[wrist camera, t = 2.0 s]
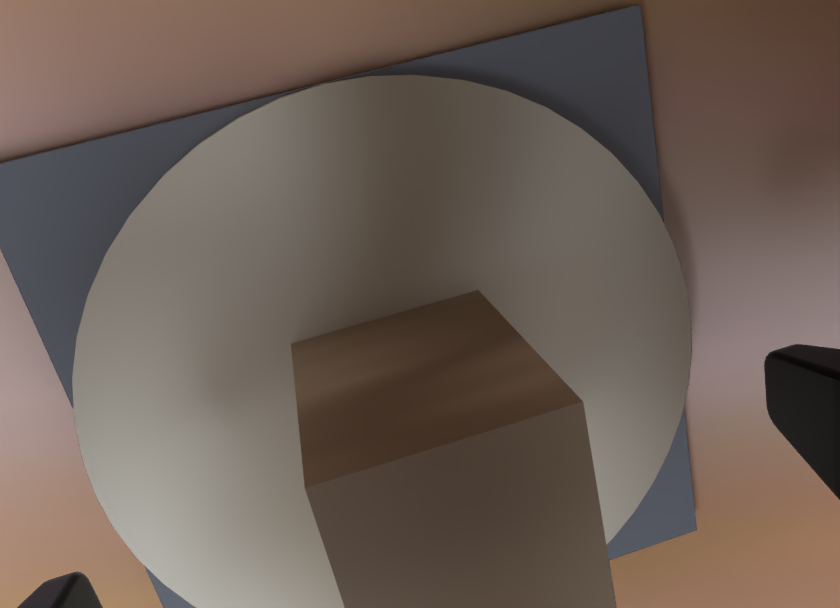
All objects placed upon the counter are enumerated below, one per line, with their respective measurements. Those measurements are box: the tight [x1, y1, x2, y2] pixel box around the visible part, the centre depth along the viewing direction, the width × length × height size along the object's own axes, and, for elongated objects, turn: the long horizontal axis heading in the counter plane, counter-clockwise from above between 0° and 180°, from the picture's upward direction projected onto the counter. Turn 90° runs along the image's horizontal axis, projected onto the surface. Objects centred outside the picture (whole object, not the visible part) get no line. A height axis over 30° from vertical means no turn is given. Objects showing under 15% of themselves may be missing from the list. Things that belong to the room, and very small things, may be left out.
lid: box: [72, 75, 692, 608], centre depth 10 cm, size 10×10×5 cm
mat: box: [0, 5, 697, 608], centre depth 12 cm, size 10×10×1 cm
